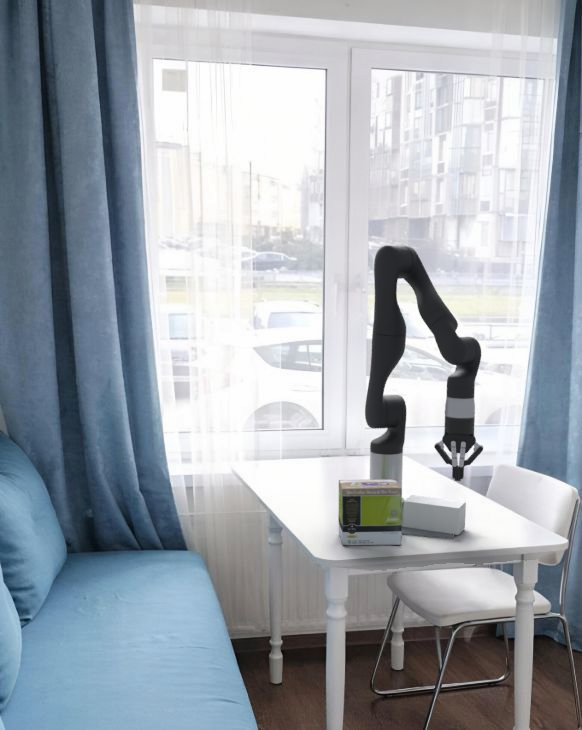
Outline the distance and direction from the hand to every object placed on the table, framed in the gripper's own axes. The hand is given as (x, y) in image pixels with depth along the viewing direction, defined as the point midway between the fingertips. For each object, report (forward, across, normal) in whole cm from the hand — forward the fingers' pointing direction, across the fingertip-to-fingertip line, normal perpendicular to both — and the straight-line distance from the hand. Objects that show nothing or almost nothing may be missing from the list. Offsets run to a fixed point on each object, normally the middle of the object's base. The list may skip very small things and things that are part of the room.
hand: (457, 480), depth 215 cm
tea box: (+14, +21, +12) cm, 28 cm away
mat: (+14, +10, 0) cm, 17 cm away
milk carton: (+10, -2, 0) cm, 10 cm away
